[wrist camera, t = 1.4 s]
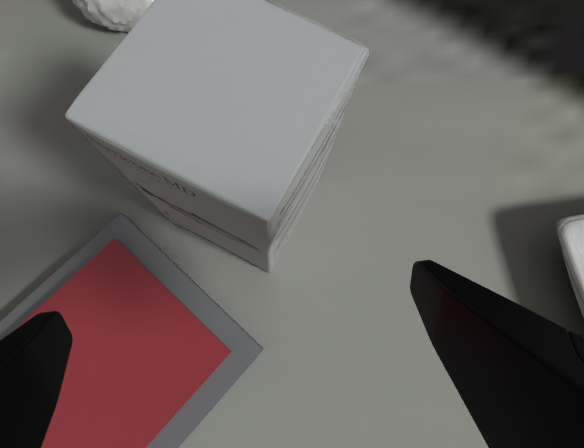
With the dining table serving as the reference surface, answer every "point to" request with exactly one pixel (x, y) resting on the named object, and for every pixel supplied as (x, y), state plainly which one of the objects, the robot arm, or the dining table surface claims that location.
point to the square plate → (573, 252)
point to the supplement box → (223, 115)
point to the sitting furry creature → (114, 12)
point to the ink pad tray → (135, 345)
